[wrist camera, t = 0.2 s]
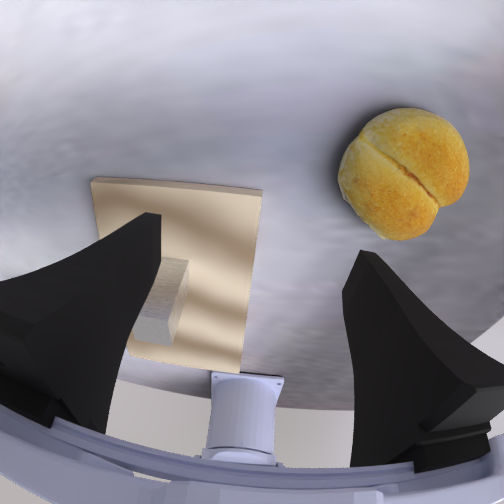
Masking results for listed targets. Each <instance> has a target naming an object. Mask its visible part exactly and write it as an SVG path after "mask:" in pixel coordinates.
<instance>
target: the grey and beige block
mask: <svg viewBox="0 0 504 504" xmlns="http://www.w3.org/2000/svg"><path fill="white" fill-rule="evenodd" d="M189 288H190V273H189V260H183V259H175V258H167V257H161V264H160V267H159V270H158V273H157V276H156V278H155V281H154V284H153V286H152V288H151V290H150V292H149V295H148V297H147V299H146V301H145V303H144V305H143V307H142V309H141V311H140V313H139V315H138V318H137V320H136V322H135V324H134V326H133V328H132V331H133V334H134V338H135V340H139V341H144V342H149V343H154V344H160V345H165V346H171V347H172V344H173V340H174V337H175V334H176V330H177V327H178V324H179V320H180V317H181V314H182V310H183V307H184V304H185V301H186V298H187V294H188V291H189Z"/></svg>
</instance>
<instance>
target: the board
mask: <svg viewBox="0 0 504 504" xmlns="http://www.w3.org/2000/svg"><path fill="white" fill-rule="evenodd" d="M90 184H91V192H92V198H93V205H94V211H95V217H96V223H97V228H98V234H99V239H102V238H104V237H106V236H107V235H109V234H110V233H112V232H114V231H115V230H117V229H118V228H120V227H122V226H123V225H125V224H126V223H128V222H130V221H131V220H133V219H134V218H136V217H138V216H139V215H141V214H143V213H145V212H148V213H155V214H161V215H162V219H161V257H167V258H175V259H183V260H189V273H190V288H189V291H188V294H187V298H186V301H185V304H184V307H183V310H182V314H181V317H180V320H179V324H178V327H177V330H176V334H175V337H174V340H173V344H172V347H171V346H165V345H160V344H154V343H149V342H144V341H139V340H135V338H134V334H133V331H131V333H130V336H129V338H128V341H127V344H126V345H127V348H128V351H129V354H130V356H133V357H138V358H143V359H148V360H153V361H158V362H163V363H169V364H174V365H180V366H186V367H192V368H199V369H205V370H212V371H220V372H227V373H236V374H239V371H240V364H241V356H242V348H243V341H244V333H245V325H246V318H247V310H248V302H249V295H250V287H251V279H252V271H253V263H254V256H255V248H256V240H257V232H258V224H259V217H260V209H261V201H262V191H263V190H255V189H246V188H237V187H228V186H218V185H208V184H197V183H186V182H174V181H160V180H146V179H130V178H111V177H96V178H95V179H94V180H93V181H91V182H90Z"/></svg>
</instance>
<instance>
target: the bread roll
mask: <svg viewBox="0 0 504 504" xmlns="http://www.w3.org/2000/svg"><path fill="white" fill-rule="evenodd" d="M468 179H469V160H468V155H467V151H466V148H465V145H464V142H463V140H462V138H461V136H460V135H459V133H458V132H457V130H456V129H455V128H454V127H453V126H452V124H451V123H450V122H448V121H447V120H445V119H444V118H442V117H440V116H438V115H436V114H433V113H431V112H428V111H425V110H421V109H417V108H397V109H393V110H390V111H387V112H384V113H382V114H381V115H378V116H376V117H375V118H373V119H372V120H371V121H369V122H368V123H367V124H366V125H365V127H364V128H363V129H362V130H361V132H360V133H359V135H358V136H357V137H356V138H355V139H354V140H353V141H352V142H351V143H350V145H349V146H348V148H347V149H346V151H345V153H344V155H343V158H342V161H341V163H340V168H339V172H338V183H339V186H340V190H341V193H342V197H343V199H344V200H345V201H347V202H348V203H349V204H350V205H351V206H352V208H353V209H354V211H355V212H356V214H357V215H358V216H359V217H360V218H361V220H362V221H363V222H365V223H367V224H368V225H369V227H370V228H371V229H372V230H373V231H375V232H376V234H377V235H378V236H379V237H380V238H382V239H391V240H399V241H401V240H408V239H411V238H415V237H417V236H420V235H421V234H423V233H425V232H426V231H427V230H428V229H429V228H430V226H431V224H432V223H433V221H434V219H435V216H436V214H437V212H438V209H439V208H440V207H444V206H447V205H451V204H453V203H454V202H456V201H457V200H458V199H459V198H460V197H461V195H462V194H463V192H464V190H465V188H466V186H467V183H468Z"/></svg>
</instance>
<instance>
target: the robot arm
mask: <svg viewBox="0 0 504 504" xmlns="http://www.w3.org/2000/svg"><path fill="white" fill-rule="evenodd" d="M161 219H162V215H161V214H155V213H148V212H145V213H143V214H141V215H139V216H138V217H136V218H134V219H133V220H131V221H130V222H128V223H126V224H125V225H123V226H122V227H120V228H118V229H117V230H115V231H114V232H112V233H110V234H109V235H107V236H106V237H104V238H102V239H100V240H99V241H97V242H95V243H93V244H92V245H90V246H88V247H87V248H85V249H83V250H81V251H79V252H77V253H75V254H73V255H71V256H69V257H67V258H65V259H63V260H61V261H58V262H56V263H54V264H51V265H49V266H46V267H44V268H41V269H39V270H36V271H33V272H30V273H28V274H25V275H22V276H18V277H15V278H11V279H8V280H4V281H0V474H1V475H2V476H4V477H5V478H7V479H9V480H10V481H12V482H14V483H15V484H17V485H19V486H20V487H22V488H24V489H26V490H27V491H29V492H31V493H33V494H35V495H37V496H39V497H40V498H42V499H44V500H46V501H48V502H50V503H52V504H496V503H498V502H500V501H502V500H504V434H501V435H498V436H495V437H493V438H491V439H489V440H488V437H487V434H486V433H488V432H489V431H491V426H490V422H489V421H490V420H491V419H493V418H494V417H495V416H497V415H498V414H499V413H500V412H501V411H503V410H504V364H502V363H500V362H498V361H496V360H495V359H493V358H491V357H489V356H488V355H486V354H485V353H483V352H482V351H480V350H479V349H477V348H476V347H474V346H473V345H471V344H470V343H469V342H467V341H466V340H465V339H463V338H462V337H461V336H459V335H458V334H457V333H456V332H454V331H453V330H452V329H451V328H449V327H448V326H447V325H446V324H445V323H444V322H443V321H441V320H440V319H439V318H438V317H437V316H436V315H435V314H434V313H433V312H432V311H431V310H429V309H428V308H427V307H426V306H425V304H424V303H423V302H422V301H421V300H420V299H419V298H418V297H417V296H416V295H415V294H414V293H413V292H412V291H411V290H410V289H409V288H408V287H407V286H406V285H405V283H404V282H403V281H402V280H401V279H400V278H399V277H398V276H397V275H396V274H395V272H394V271H393V270H392V269H391V268H390V267H389V266H388V265H387V264H386V263H385V262H384V261H383V260H382V259H381V258H380V257H379V256H378V255H377V254H376V253H374V252H369V251H364V250H360V252H359V254H358V256H357V259H356V261H355V263H354V266H353V268H352V270H351V272H350V275H349V277H348V279H347V281H346V284H345V286H344V288H343V290H342V302H343V315H344V321H345V326H346V332H347V337H348V342H349V348H350V353H351V359H352V365H353V373H354V395H355V405H354V432H353V445H352V453H351V461H350V468H286V467H285V466H284V465H283V464H282V463H279V462H276V455H274V433H275V405H276V403H277V400H278V397H279V394H280V392H281V389H282V386H283V383H284V378H283V377H276V376H264V375H254V374H245V373H239V374H236V373H227V372H220V371H212V373H211V401H212V410H211V416H210V423H209V429H208V436H207V442H206V448H203V449H202V456H201V455H195V456H194V457H190V456H185V455H180V454H175V453H170V452H166V451H162V450H158V449H153V448H149V447H145V446H142V445H138V444H134V443H131V442H127V441H124V440H120V439H117V438H114V437H111V436H108V435H105V433H106V427H107V421H108V414H109V409H110V404H111V399H112V395H113V391H114V386H115V382H116V378H117V375H118V371H119V367H120V364H121V360H122V357H123V354H124V350H125V347H126V344H127V341H128V338H129V336H130V333H131V331H132V328H133V326H134V324H135V322H136V320H137V318H138V315H139V313H140V311H141V309H142V307H143V305H144V303H145V301H146V299H147V297H148V295H149V292H150V290H151V288H152V286H153V284H154V281H155V278H156V276H157V273H158V270H159V267H160V264H161ZM130 470H131V471H130ZM132 471H135V472H139V473H142V474H146V475H150V476H154V477H158V478H162V479H167V480H171V482H170V483H167V482H161V481H155V480H150V479H145V478H140V477H135V476H134V474H133V472H132Z"/></svg>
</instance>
